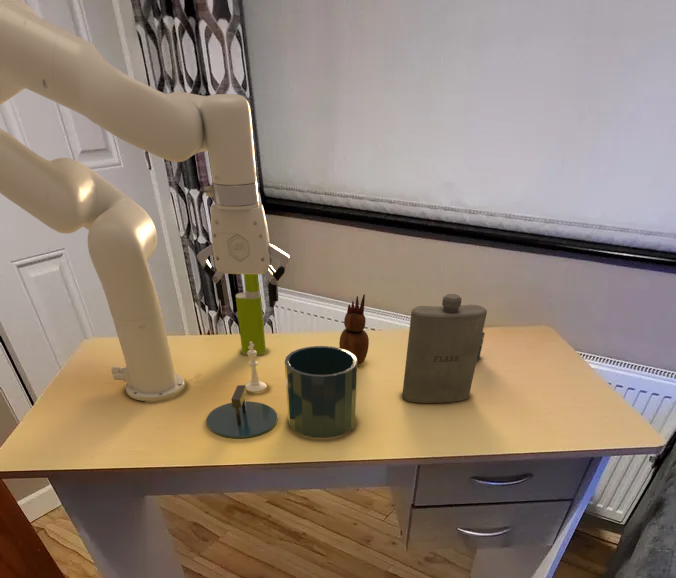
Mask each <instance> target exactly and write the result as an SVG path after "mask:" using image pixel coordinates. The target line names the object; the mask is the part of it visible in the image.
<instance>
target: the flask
mask: <svg viewBox="0 0 676 578" xmlns="http://www.w3.org/2000/svg"><path fill="white" fill-rule="evenodd" d="M461 297H462V296H460V295H459V294H455V293H448V294H445V295H444V296H443V297H442V302H441V306H438V305H437V306H435V305H434V306H433V305H418V306H416V307H413V308H412V309H411V311H410V312H411V313H410V321H409V329H408V330H409V331H408V338H407V347H406V356H405V367H404V376H403V383H402V384H403V386H402V393H401V396H402V398H403V400H404V401H407V402H411V403H416V404H417V403H418V404H445V403H447V404H448V403H455V402H461V401H464V400H467V399H469V397H470V395H471V390H472V384H473V380H474V375H475V370H476V366H477V361H478V359H477V357H478V352H479V347H480V342H481V338H482V333H483V332H484V328H485V323H486V318H487V313H488V310H487V309H486V308H485V307H483V306H481V305H478V304H464V305H463V304H462V300H463V299H462V298H461Z"/></svg>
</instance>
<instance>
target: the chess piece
mask: <svg viewBox="0 0 676 578" xmlns="http://www.w3.org/2000/svg"><path fill="white" fill-rule="evenodd" d="M253 347H254V344H253V343H252V342H250V346H249V347H248V348H249V349H250V350H249V351H248V352H247V354H248V355H247V356H248V358H249V361H248V362H247V364H248V366H249V367H250V370H251V374H250V375H251V376H250V377H251V378H250V381H249V382H247V383H246V384H244V385H245V386H246V391H248V392H253V393H257V392H258V393H259V392H263V391H265V390H266V389H267V384H266V383H265V382H263V381H261V380H260V379H259V375H258V371H257V370H258V369H257V366H258V365H259V361H257V360H256V359H257V356H258V355H257V351H255V350H253Z"/></svg>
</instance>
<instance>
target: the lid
mask: <svg viewBox="0 0 676 578" xmlns="http://www.w3.org/2000/svg"><path fill="white" fill-rule="evenodd" d="M245 385H246V384H244V385H242V384H241V385H240V384H237V386H236V387H235V390H234V392H233V395H232V396H231V399H230V401H231V402H229V403H224V404H223V405H222V404H221V405H220V406H217V407H216V408H214V409H213V410H211V411H210V412H209V413H208V415H207V416H206V426H207V428H208V429H209V431H210V432H212V433H213V434H215V435H217V436H220V437H223V438H227V439H237V440H239V439H241V440H242V439H249V438H251V439H252V438H255V437H256V438H257V437H259V436H262V435H264V434H266V433H268V432H270V431H271V430H273V429H274V428H275V427H276V426H277V424H278V419H279V418H278V413H277V412H276V410H275V409H274V408H273V407H272V406H269V405H268V404H265V403H262V402H257V401H247V400H246V397H247V393H248V392H247V391H248V390H246V386H245Z"/></svg>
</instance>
